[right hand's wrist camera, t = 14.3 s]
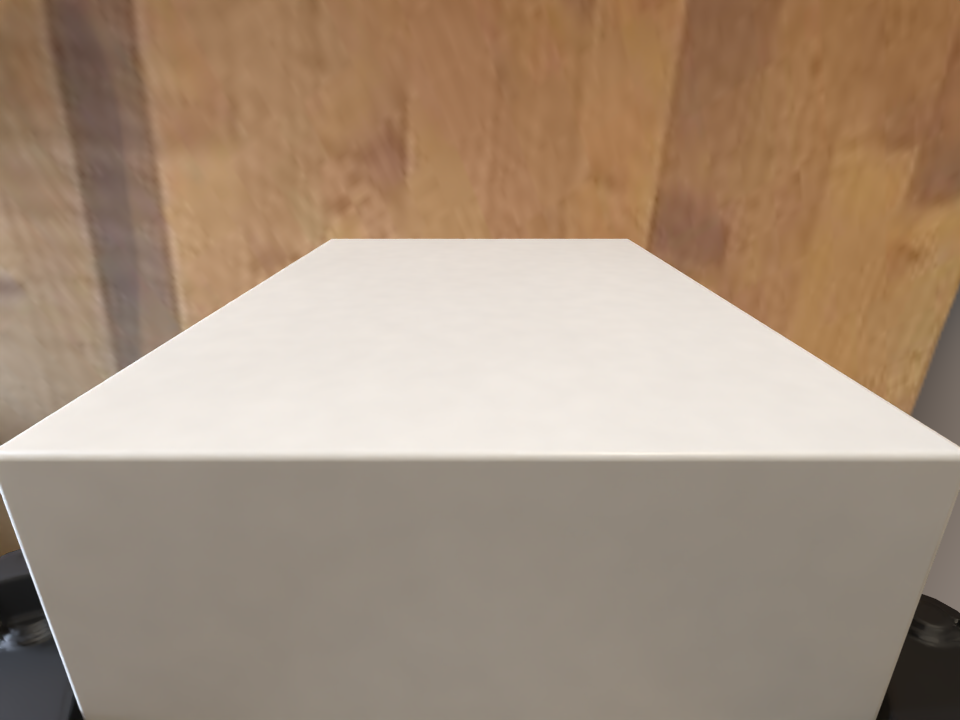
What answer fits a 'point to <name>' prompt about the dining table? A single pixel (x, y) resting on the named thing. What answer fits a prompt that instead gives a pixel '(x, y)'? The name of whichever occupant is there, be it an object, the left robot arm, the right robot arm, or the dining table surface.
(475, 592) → the brick
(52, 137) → the dining table surface
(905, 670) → the right robot arm
